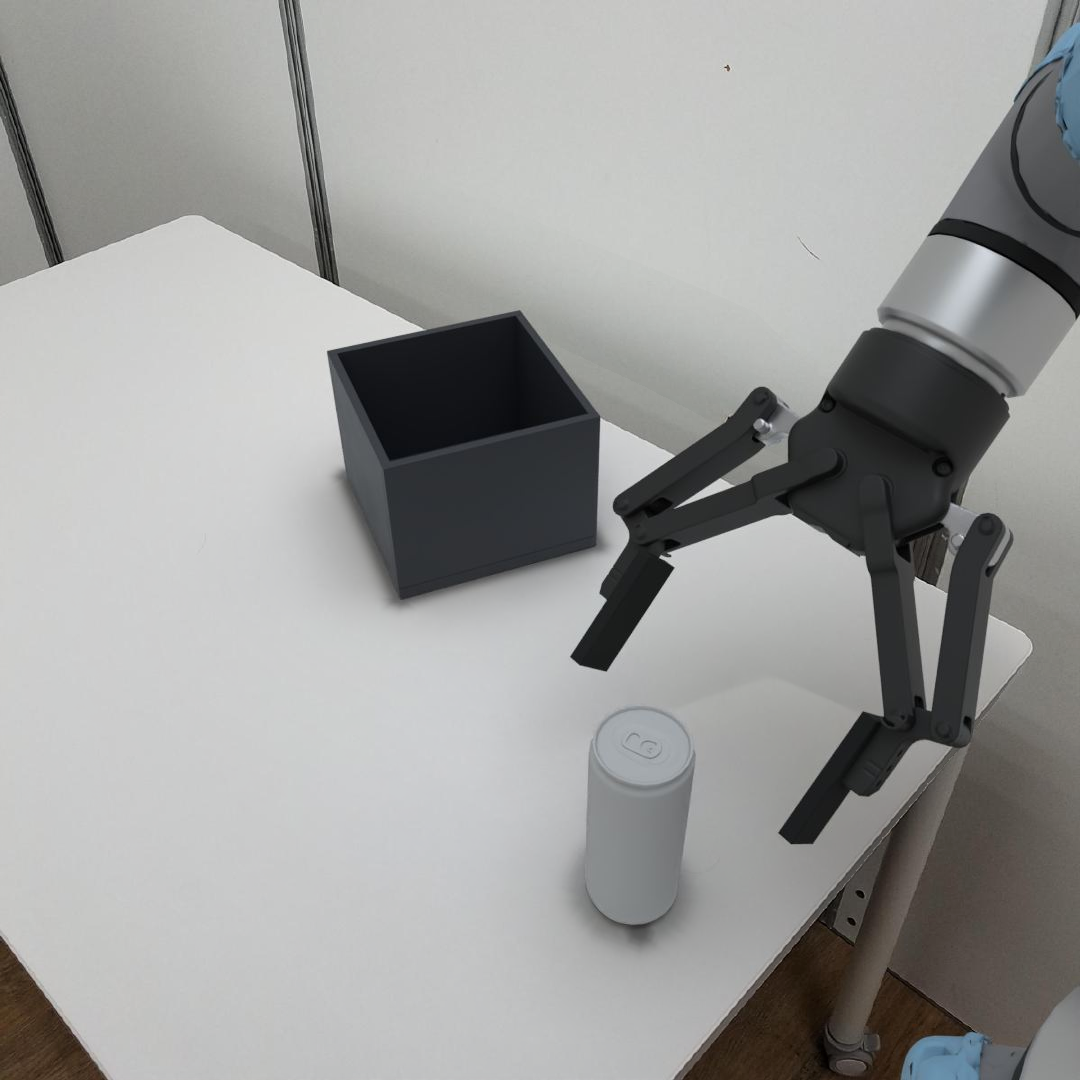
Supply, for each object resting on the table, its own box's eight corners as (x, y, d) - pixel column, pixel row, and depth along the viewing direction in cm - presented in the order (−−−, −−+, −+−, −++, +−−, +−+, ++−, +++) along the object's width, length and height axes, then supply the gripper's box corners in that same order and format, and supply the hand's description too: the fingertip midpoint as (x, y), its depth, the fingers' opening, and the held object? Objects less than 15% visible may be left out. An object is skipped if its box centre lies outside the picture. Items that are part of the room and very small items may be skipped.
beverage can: (650, 947, 55) (666, 805, 47) (566, 901, 57) (568, 757, 49) (693, 874, 58) (715, 729, 50) (612, 832, 60) (621, 686, 52)
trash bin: (596, 545, 78) (600, 416, 70) (400, 600, 74) (383, 469, 66) (523, 433, 88) (520, 309, 80) (346, 476, 84) (326, 350, 76)
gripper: (1221, 519, 46) (926, 923, 49) (762, 292, 61) (554, 616, 63) (1211, 471, 40) (875, 935, 43) (704, 232, 54) (476, 592, 57)
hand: (683, 746), depth 53 cm, fingers open, 13 cm apart
